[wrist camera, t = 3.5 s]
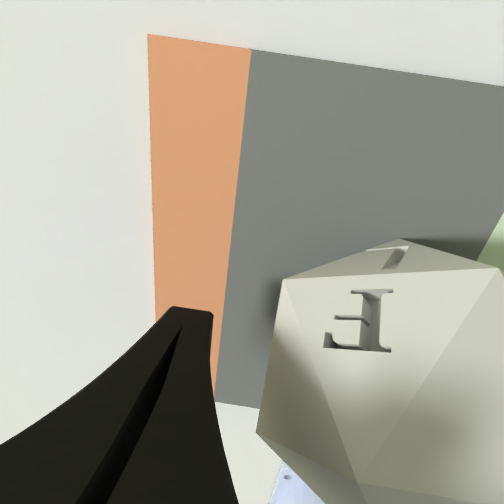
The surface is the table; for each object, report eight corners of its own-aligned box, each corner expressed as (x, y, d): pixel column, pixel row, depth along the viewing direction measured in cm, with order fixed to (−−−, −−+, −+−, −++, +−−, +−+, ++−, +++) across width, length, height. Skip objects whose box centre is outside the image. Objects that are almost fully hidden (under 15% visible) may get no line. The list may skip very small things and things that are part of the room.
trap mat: (626, 465, 17) (629, 468, 17) (159, 389, 18) (157, 392, 17) (1028, 164, 9) (1042, 166, 9) (149, 34, 9) (147, 33, 9)
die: (535, 223, 12) (682, 207, 4) (562, 463, 12) (771, 979, 4) (319, 246, 16) (174, 262, 8) (338, 420, 16) (211, 606, 8)
